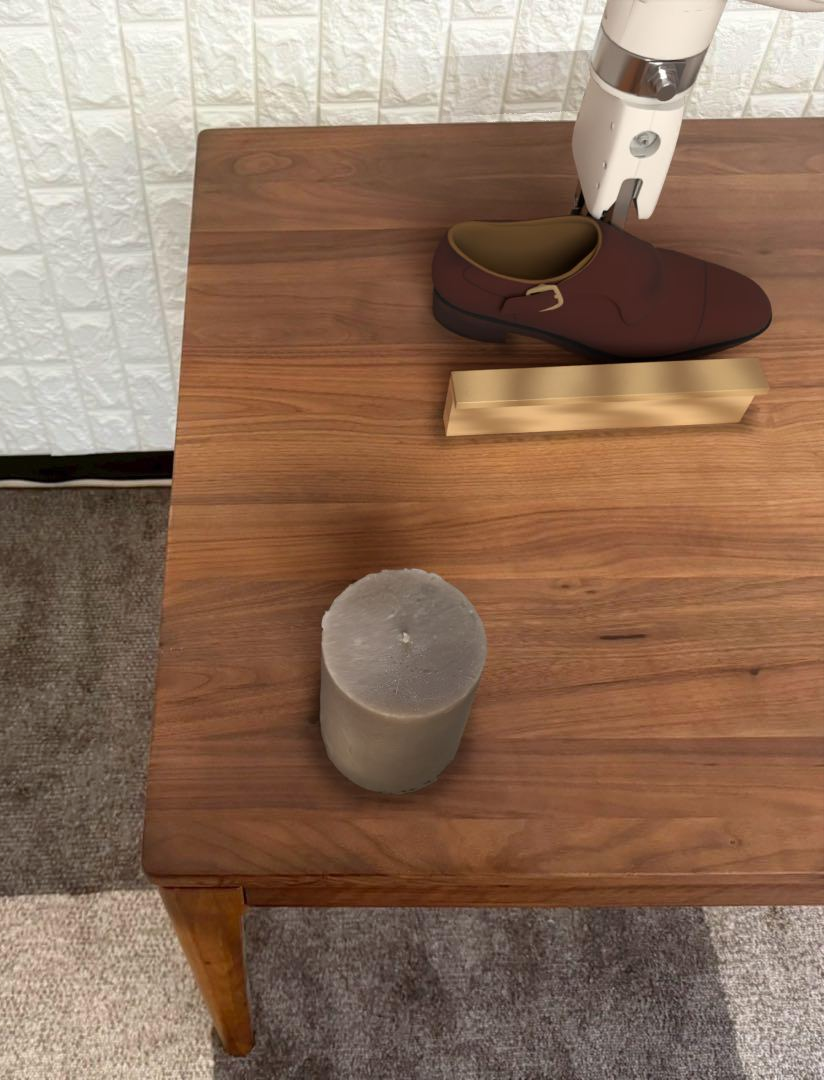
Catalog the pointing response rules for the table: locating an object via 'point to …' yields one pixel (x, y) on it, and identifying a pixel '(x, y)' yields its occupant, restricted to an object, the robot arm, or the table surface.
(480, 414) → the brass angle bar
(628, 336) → the dress shoe
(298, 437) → the table surface
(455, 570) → the table surface
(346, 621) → the pillar candle
